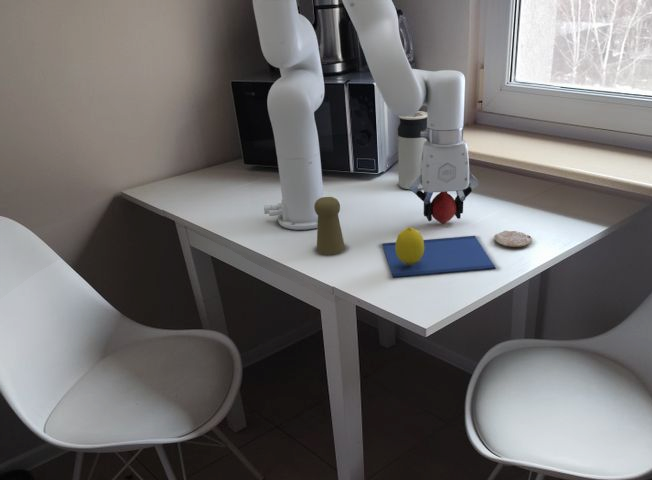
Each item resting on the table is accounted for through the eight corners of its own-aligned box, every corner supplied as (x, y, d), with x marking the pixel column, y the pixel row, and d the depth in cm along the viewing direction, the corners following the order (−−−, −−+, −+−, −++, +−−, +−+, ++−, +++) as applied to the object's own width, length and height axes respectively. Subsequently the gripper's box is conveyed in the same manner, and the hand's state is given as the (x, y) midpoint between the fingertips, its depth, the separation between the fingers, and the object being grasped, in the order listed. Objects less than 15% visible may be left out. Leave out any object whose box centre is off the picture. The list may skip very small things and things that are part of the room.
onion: (439, 230, 137) (439, 195, 132) (425, 222, 141) (425, 187, 137) (460, 224, 139) (462, 190, 135) (446, 217, 143) (447, 183, 139)
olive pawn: (322, 257, 127) (317, 205, 121) (312, 247, 132) (307, 196, 126) (349, 251, 129) (345, 200, 123) (339, 241, 134) (335, 191, 128)
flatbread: (538, 244, 128) (539, 240, 127) (506, 251, 126) (507, 246, 125) (517, 231, 134) (518, 226, 134) (486, 237, 132) (487, 232, 131)
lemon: (422, 272, 119) (422, 233, 114) (393, 271, 120) (392, 232, 115) (425, 260, 123) (426, 222, 119) (398, 259, 124) (397, 221, 120)
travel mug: (409, 192, 159) (408, 119, 149) (393, 184, 165) (391, 113, 155) (435, 186, 162) (435, 114, 152) (418, 178, 168) (417, 109, 158)
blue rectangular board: (392, 278, 118) (392, 276, 118) (382, 244, 131) (382, 243, 131) (495, 268, 119) (495, 267, 119) (474, 237, 133) (474, 235, 133)
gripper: (407, 143, 126) (407, 227, 136) (490, 137, 127) (485, 220, 137) (401, 133, 132) (402, 214, 142) (480, 128, 133) (476, 209, 143)
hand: (443, 216), depth 139 cm, fingers closed on onion, 5 cm apart
